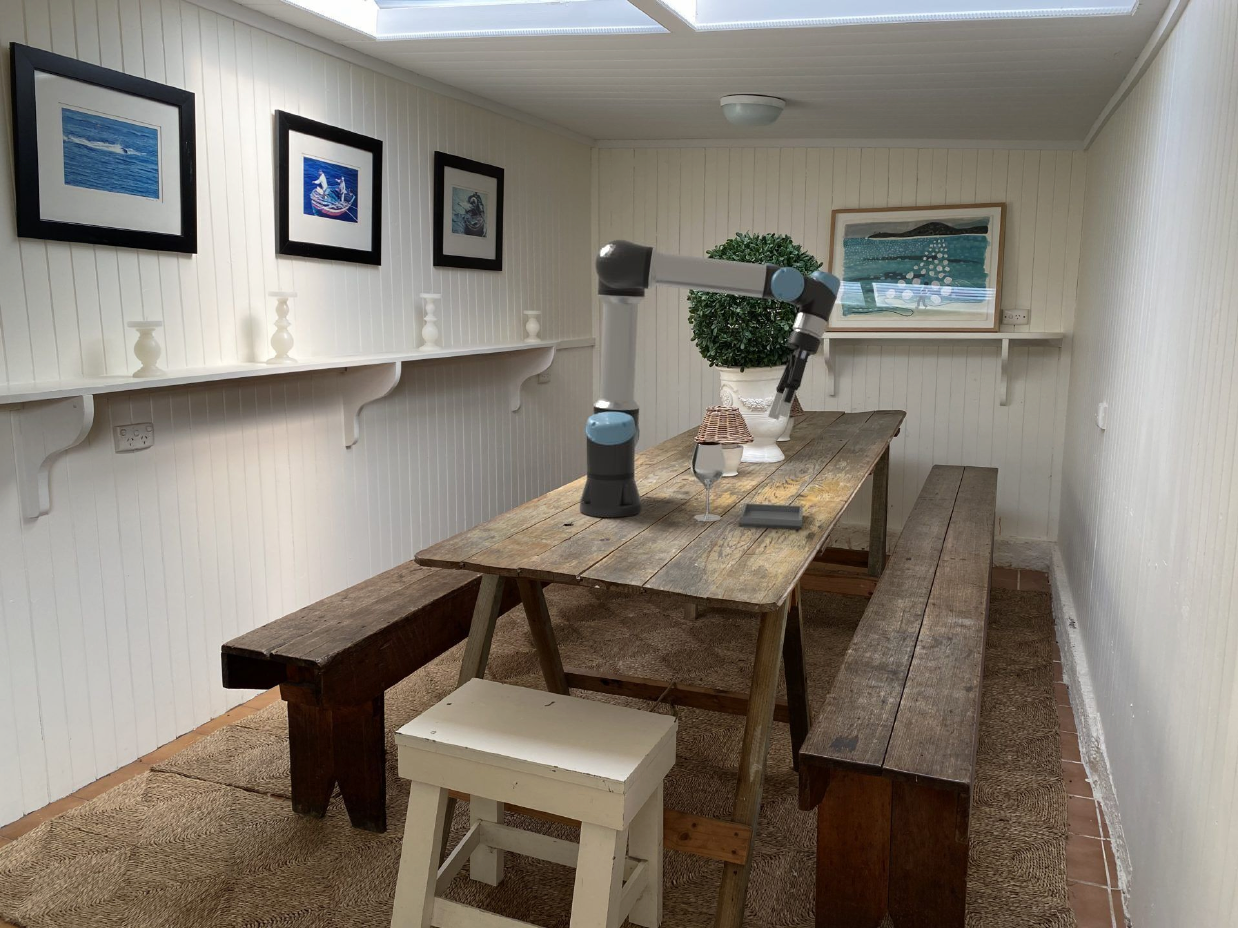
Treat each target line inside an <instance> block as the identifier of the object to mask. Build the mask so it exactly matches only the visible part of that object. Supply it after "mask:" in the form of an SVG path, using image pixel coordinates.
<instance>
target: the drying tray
mask: <svg viewBox="0 0 1238 928" xmlns="http://www.w3.org/2000/svg"><path fill="white" fill-rule="evenodd" d="M803 508H804V506H803V505H793V504H792V505H788V504H787V505H786V504H769V503H768V504H766V503H765V504H764V503H749V502H747V503H745V502H744V503H743V505H742V509H741V512H740V514H739V520H738V521H739V523H738V524H739V528H741V527H743V528H744V527H745V528H746V527H747V528H762V529H781V530H803V529H802V526H803V514H804V513H803V512H804V511H803Z"/></svg>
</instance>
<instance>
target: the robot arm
mask: <svg viewBox="0 0 1238 928" xmlns="http://www.w3.org/2000/svg"><path fill="white" fill-rule="evenodd" d="M595 257H596V258H595V265H594V266H595V270H596V274H597V276H598V279H597V280H598V281H597V284H598V285H597V286H598V287H597V296H598V298H599V299H600V300H601V302H602V304H603V312H602V316H603V317H602V334H601V335H602V339H601V340H602V341H601V361H600V363H601V364H600V365H601V366H600V367H601V368H600V386H599V387H600V389H599V399H598V400H596V402H595V403H594V404H593V412H592V413H593V414H592V415H591V416H589V417H588V419H587V420H586V427H585V434H586V481H585V485H584V487H583V491H582V494H581V497H580V500H579V511H580V512H581V514H584V515H587V516H591V517H598V518H622V517H624V518H625V517H631V516H635V515H637V514H639V513H641V512H642V511H643V510H642V506H643V505H642V504H643V503H642V499H641V495H640V493H639V489H638V486H637V482H636V480H635V477H636V476H635V466H636V465H635V464H636V463H635V461H636V460H635V456H636V454H635V453H636V452H635V451H636V446H637V444H638V442H639V440H640V427H639V426H640V425H639V422H640V421H639V419H640V418H639V417H640V405H639V404H638V403H637V402H636V401H635V394H634V393H635V380H636V379H635V378H636V356H637V354H636V353H637V352H636V351H637V336H638V334H637V333H638V312H639V304H640V303H641V302H642V301H643V300H644V299H645V294H646V290H650V289H652V288H653V287H654V286H657V287H666V288H674V289H675V288H676V289H683V290H692V291H699V292H701V291H702V292H710V293H717V294H727V295H735V296H736V295H737V296H743V297H744V296H745V297H753V298H762V299H769V300H775V301H781V302H785V303H788V304H791V305H792V306H793V305H794V306H795V307H799V310H798V312H797V314H796V316H795V320H794V322H793V325H792V330H793V331H791V332H790V334H789V337H788V340H787V344H786V345H787V347H788V348H790V349H791V350H794V352H793V354H790V355H789V356H788V359H787V363H786V365H785V368H784V371H783V373H782V374H781V378H780V380H779V382H778V384H777V386H776V388H775V390H776V392H775V395H774V398H773V400H772V403H771V406H770V409H769V410H768V411H769V412H768V415H767V417H768V418H771V419H774V420H776V421H779V419H780V417H784V418H788V417H789V414H790V411H791V408H792V405H793V403H794V400H795V397H796V395H797V391H798V390H799V388H801V385H802V381H803V377H804V372H805V369H806V365H807V363H808V359H809V356H811V355H813V356H814V355H816V354H817V353H818V351H819V348H820V345H821V339H822V338H823V336H824V333H825V332H828V327H827V325H828V322H829V319H830V317H831V314H832V311H833V308H834V306H835V304H836V301H837V298H838V295H839V294H838V293H839V292H840V291H839V290H840V288H841V280H840V278H838V277H837V276H836V275H834V274H832V273H830V272H827V271H823V270H815V271H813V272H812V273H811V275H810V276H807V275H804V274H802V273H801V272H800V271H799V270H798V269H797V268H794V267H790V266H780V265H778V264H774V263H770V262H767V263H764V264H759V263H754V262H753V263H752V262H743V261H736V260H735V261H734V260H727V259H717V258H709V257H700V256H693V255H683V254H675V253H666V252H660V251H658V249H656V247H654V246H653V247H652V246H646V245H641V244H638V243H637V244H636V243H634V242H631V241H629V240H625V239H614V240H611V241H609V242H607V243H606V244H604V245H603V246H602V247H601V248H600V249H599V251H598V253H597V255H596V256H595Z"/></svg>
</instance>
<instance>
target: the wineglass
mask: <svg viewBox="0 0 1238 928" xmlns="http://www.w3.org/2000/svg"><path fill="white" fill-rule="evenodd" d="M726 464H727V463H726V459H725V455H724V450H723V447H722V443H721V442H720V441H719V442H718V441H709V440H708V441H707V440H706V441H698V442H696V443H695V448H694V450H693V453H692V457H691V462H690V471H691V473H692V475H693V477H694V478H695V479H696V480H698V481H699V482H700V483H701V484H702V485H703V486H704V489H705V513H704V514H703V513H702V514H696V515H694V516H693V519H694V520H696V521H698V522H707V523H709V522H718V521H720V520H722V517H721V516H720V515H716V514H713V513H712V514H711V513H710V491H711V490H710V489H711V487H712V486H713V485H714V484H716V483H717V482H718V481H719V480H720V479H721V478H722V477H723V476H724V474H725V473H726V470H727V465H726Z"/></svg>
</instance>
